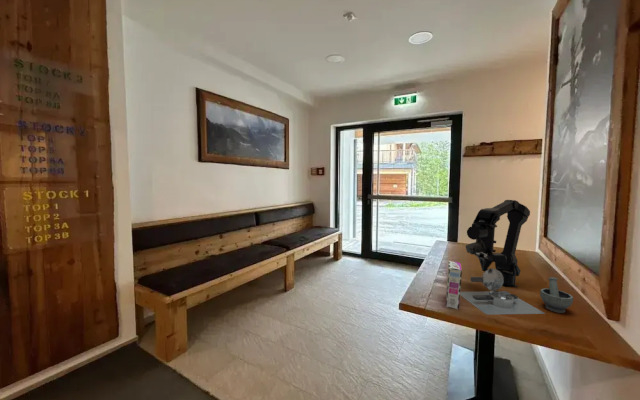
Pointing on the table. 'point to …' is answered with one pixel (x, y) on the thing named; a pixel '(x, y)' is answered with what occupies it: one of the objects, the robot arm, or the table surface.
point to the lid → (490, 279)
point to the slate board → (490, 309)
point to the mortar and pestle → (555, 297)
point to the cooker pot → (498, 298)
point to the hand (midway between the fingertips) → (484, 271)
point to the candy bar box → (453, 285)
